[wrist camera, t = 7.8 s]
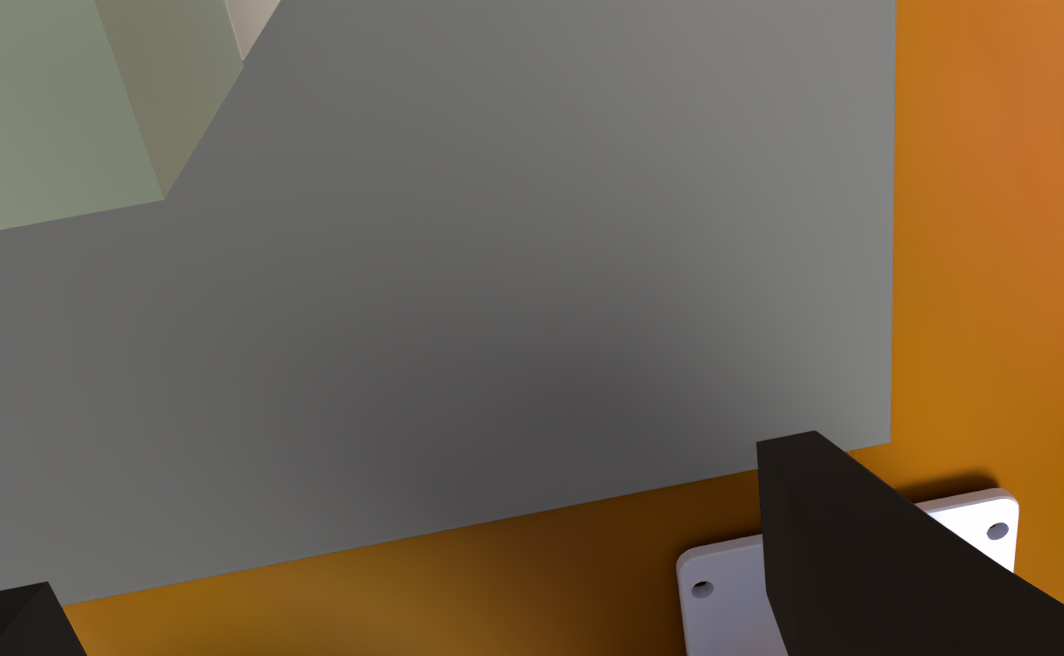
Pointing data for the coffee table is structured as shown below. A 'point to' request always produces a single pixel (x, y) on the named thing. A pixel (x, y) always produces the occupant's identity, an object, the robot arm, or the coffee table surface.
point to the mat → (456, 284)
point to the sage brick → (105, 100)
